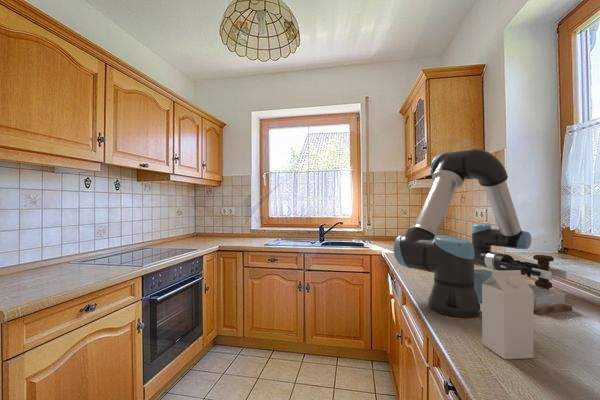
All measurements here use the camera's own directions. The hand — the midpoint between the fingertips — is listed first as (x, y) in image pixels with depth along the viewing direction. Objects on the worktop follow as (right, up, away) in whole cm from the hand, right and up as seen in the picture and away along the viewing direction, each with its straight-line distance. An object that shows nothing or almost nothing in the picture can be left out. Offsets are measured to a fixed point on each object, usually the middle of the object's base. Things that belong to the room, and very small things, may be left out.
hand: (558, 275), depth 104 cm
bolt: (-1, -9, +5) cm, 11 cm away
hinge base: (-12, -9, -4) cm, 16 cm away
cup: (-27, -9, 0) cm, 28 cm away
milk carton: (-43, -9, -35) cm, 56 cm away
